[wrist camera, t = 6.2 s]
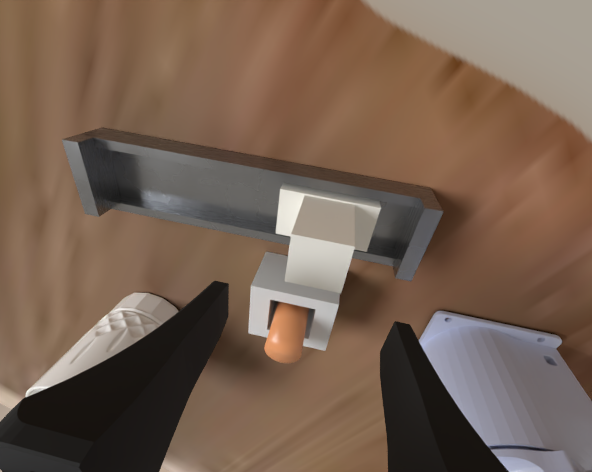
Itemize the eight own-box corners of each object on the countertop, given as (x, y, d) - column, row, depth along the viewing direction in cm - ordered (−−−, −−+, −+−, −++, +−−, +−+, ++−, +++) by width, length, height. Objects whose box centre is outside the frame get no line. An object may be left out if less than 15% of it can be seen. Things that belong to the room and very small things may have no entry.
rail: (430, 187, 18) (443, 211, 15) (403, 251, 21) (411, 281, 18) (101, 127, 20) (61, 139, 17) (117, 194, 22) (85, 213, 20)
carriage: (379, 199, 18) (388, 251, 13) (365, 241, 20) (369, 301, 15) (284, 181, 18) (260, 225, 14) (279, 224, 20) (256, 276, 15)
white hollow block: (341, 267, 22) (339, 304, 19) (329, 311, 25) (325, 350, 22) (266, 251, 23) (251, 285, 20) (262, 296, 26) (248, 333, 22)
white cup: (205, 322, 29) (146, 431, 21) (168, 349, 33) (105, 451, 24) (138, 273, 27) (41, 374, 18) (106, 309, 31) (14, 405, 22)
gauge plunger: (312, 293, 21) (303, 344, 18) (307, 315, 23) (298, 366, 19) (280, 287, 22) (265, 335, 18) (277, 309, 23) (263, 358, 19)
